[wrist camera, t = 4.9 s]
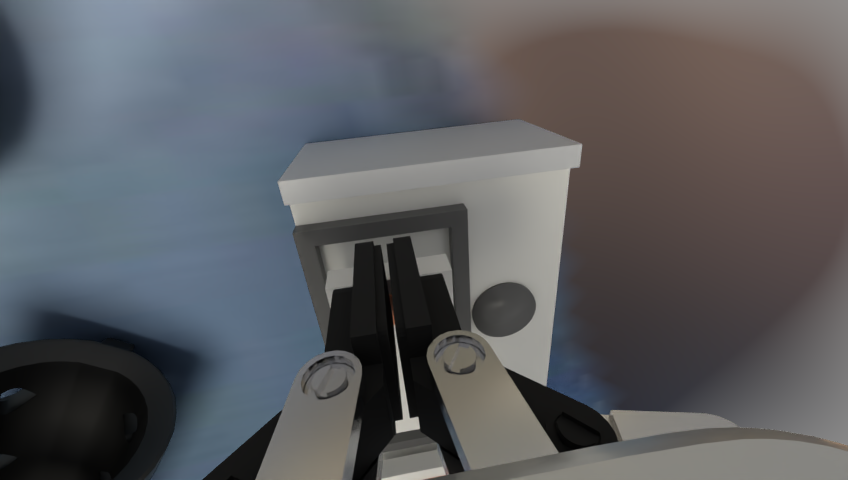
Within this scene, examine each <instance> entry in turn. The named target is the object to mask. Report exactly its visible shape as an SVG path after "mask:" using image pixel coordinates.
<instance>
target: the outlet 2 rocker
mask: <svg viewBox="0 0 848 480" xmlns="http://www.w3.org/2000/svg"><path fill="white" fill-rule="evenodd" d="M416 262H417V266H418V270H419V274H420V276H426V275H433V274H439V273H442V275H443V277H444V280H445V283H446V286H447V289H448V292H449V295H450V298H451V301H452V303H453V282H452V269H451V266H450V264H449V261H448V258H447V256H446V254H439V255H433V256H426V257H419V258H416ZM384 267H385V273H386V279H387V285H388V291H389V298H390V304H391V310H392V316H393V324H394V334H395V344H396V353H397V363H398V373H399V383H400V393H401V403H402V412H403V420H398V421H395V424H396V433H400V432H406V431H411V430H416V429H420V425H419V418H418V417H414V418H410V416H409V410H408V404H407V398H406V392H405V385H404V379H403V373H402V367H401V361H400V355H399V348H398V342H397V336H396V328H395V320H394V311H393V301H392V292H391V283H390V273H389V264H388V262H385V263H384ZM353 269H354V267H351V268H344V269H338V270H331V271H328V273H327V280H326V286H325V291H326V294H327V298H328V302H329V305H330V308H331V301H332V293H333V290H334V289H341V288H347V287H353ZM453 306H454V303H453Z"/></svg>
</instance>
